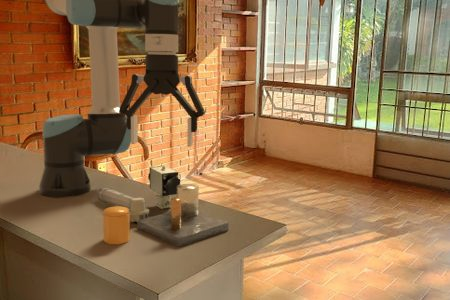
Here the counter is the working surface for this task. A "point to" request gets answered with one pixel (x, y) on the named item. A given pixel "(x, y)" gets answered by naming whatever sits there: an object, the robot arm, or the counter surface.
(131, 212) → the white handheld device
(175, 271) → the counter surface
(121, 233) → the orange acorn nut
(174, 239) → the grey slab with post
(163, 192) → the pneumatic valve
